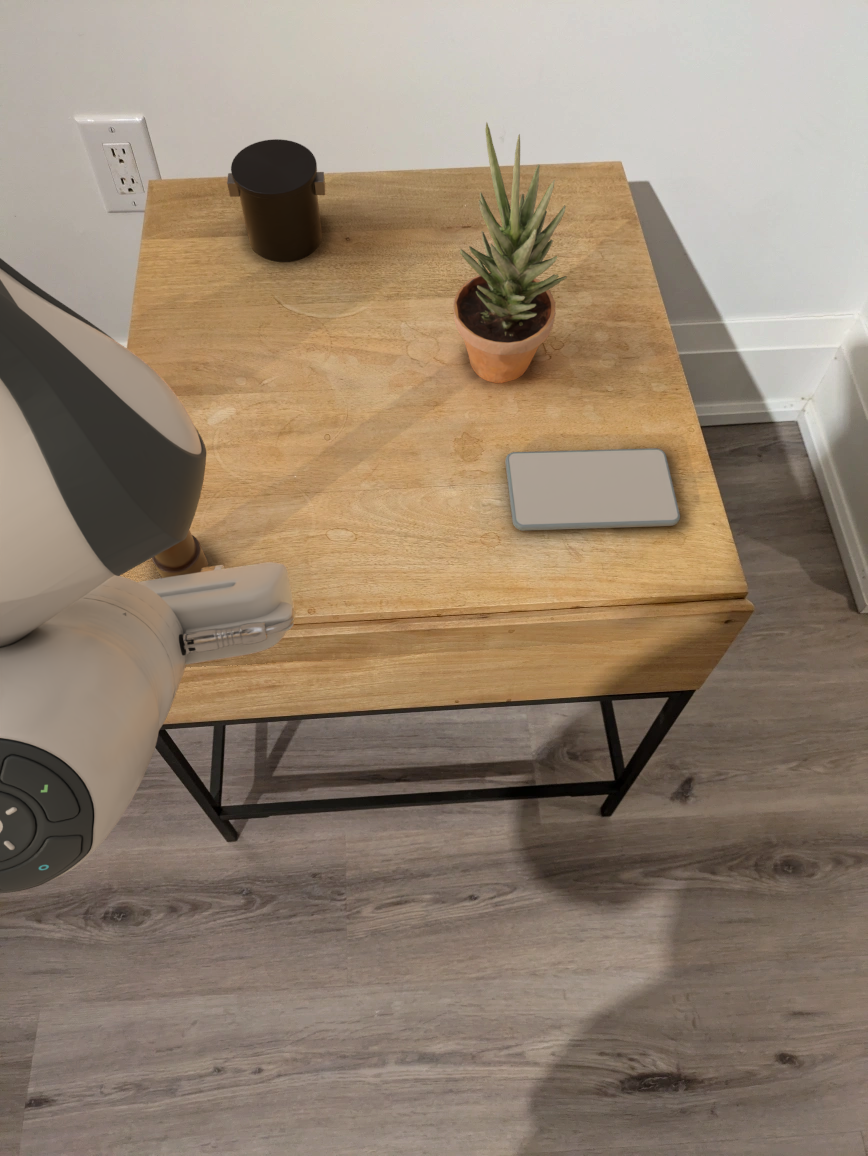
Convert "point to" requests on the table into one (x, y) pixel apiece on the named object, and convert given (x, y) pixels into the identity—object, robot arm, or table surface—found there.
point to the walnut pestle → (181, 558)
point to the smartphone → (591, 489)
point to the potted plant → (508, 281)
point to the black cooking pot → (279, 198)
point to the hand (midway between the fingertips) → (145, 587)
